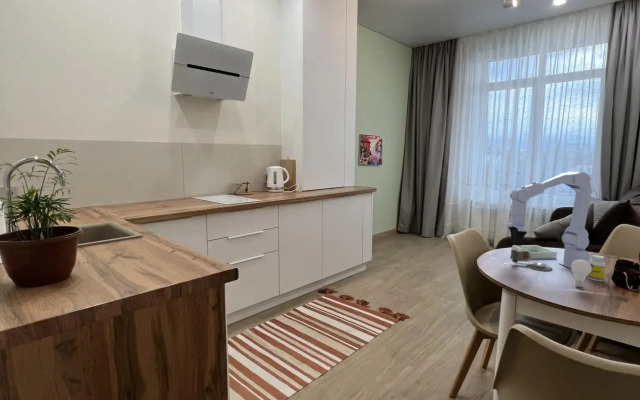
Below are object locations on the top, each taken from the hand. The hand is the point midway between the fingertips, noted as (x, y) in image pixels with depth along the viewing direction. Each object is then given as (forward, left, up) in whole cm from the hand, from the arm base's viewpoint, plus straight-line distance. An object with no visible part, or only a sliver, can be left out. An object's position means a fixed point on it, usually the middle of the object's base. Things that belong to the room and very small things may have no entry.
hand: (516, 243), depth 159 cm
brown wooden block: (+11, -13, -8) cm, 19 cm away
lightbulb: (-28, -7, -11) cm, 31 cm away
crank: (-4, -9, -10) cm, 14 cm away
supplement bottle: (-20, -22, -11) cm, 31 cm away
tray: (+16, -22, -10) cm, 28 cm away
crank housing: (-4, -9, -10) cm, 14 cm away
